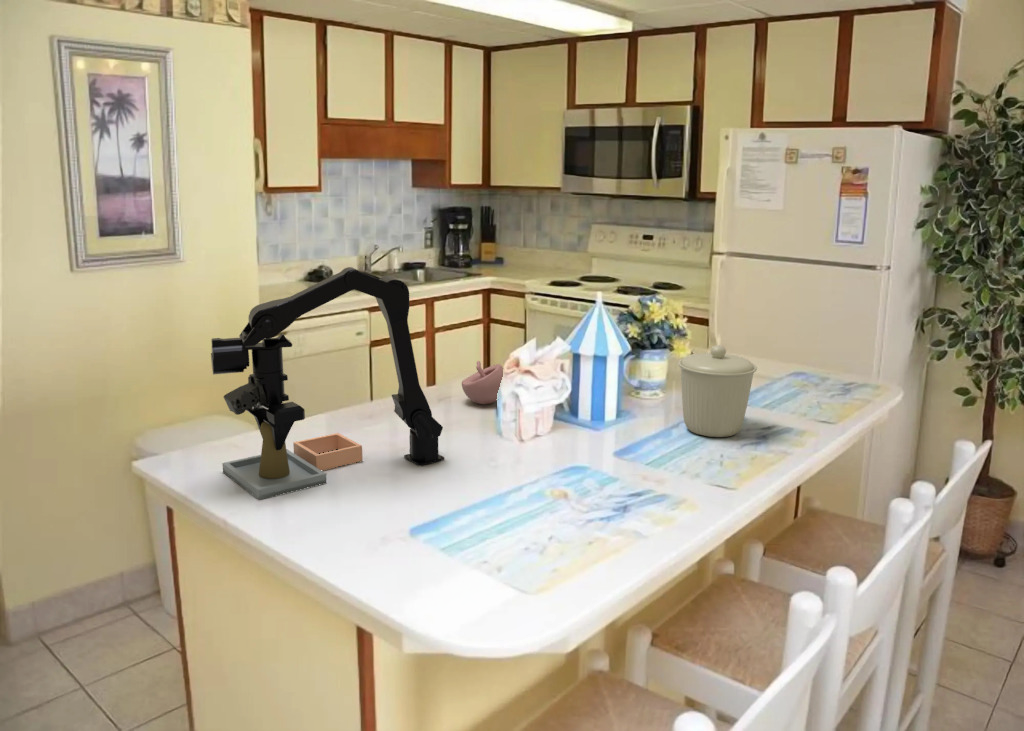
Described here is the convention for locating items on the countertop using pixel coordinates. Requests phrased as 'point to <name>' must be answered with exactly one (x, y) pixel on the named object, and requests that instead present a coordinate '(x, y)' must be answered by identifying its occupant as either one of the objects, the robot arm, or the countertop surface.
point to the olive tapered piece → (272, 456)
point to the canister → (715, 391)
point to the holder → (314, 446)
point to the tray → (262, 488)
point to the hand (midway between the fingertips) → (272, 445)
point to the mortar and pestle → (483, 384)
